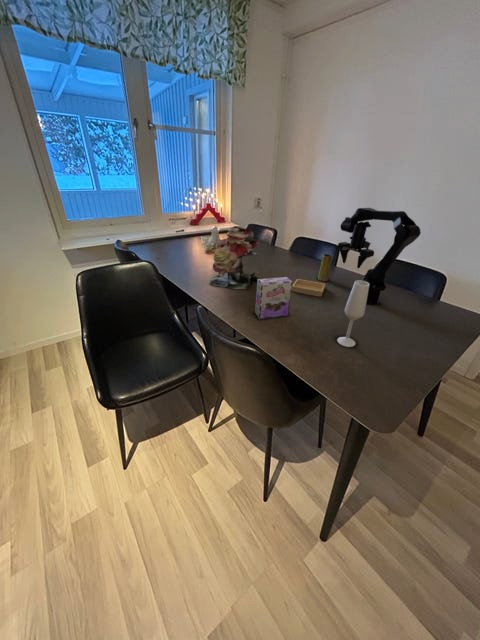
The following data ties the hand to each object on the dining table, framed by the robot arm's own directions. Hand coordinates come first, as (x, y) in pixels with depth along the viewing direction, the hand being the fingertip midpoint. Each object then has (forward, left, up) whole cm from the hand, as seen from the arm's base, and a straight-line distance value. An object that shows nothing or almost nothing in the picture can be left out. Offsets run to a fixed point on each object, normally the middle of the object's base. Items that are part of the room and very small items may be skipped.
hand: (351, 265), depth 142 cm
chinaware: (+82, +74, -13) cm, 111 cm away
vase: (+14, +8, -13) cm, 21 cm away
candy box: (-28, +46, -13) cm, 55 cm away
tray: (-2, +21, -13) cm, 25 cm away
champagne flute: (-50, +21, -13) cm, 56 cm away
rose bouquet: (+11, +61, -13) cm, 63 cm away
